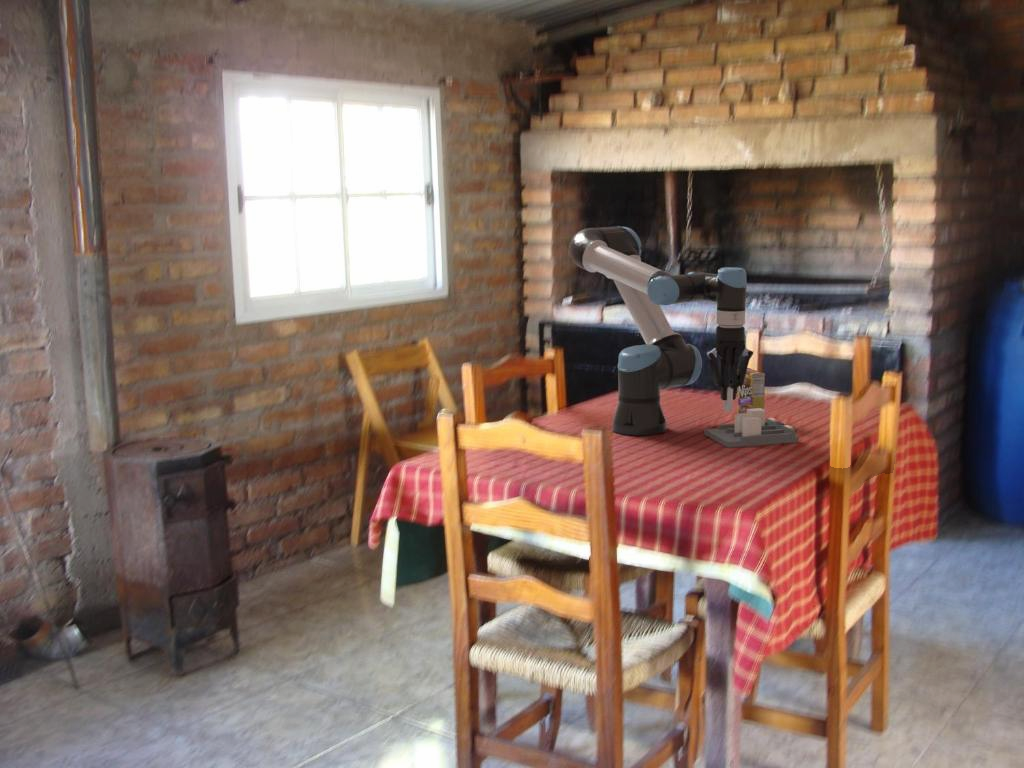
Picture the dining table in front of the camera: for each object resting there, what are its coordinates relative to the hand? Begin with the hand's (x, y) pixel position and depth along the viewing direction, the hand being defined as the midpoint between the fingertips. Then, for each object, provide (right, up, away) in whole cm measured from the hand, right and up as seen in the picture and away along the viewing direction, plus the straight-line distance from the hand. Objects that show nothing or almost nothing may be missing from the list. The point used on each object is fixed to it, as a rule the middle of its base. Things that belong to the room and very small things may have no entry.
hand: (727, 411), depth 299 cm
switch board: (+5, -7, -3) cm, 10 cm away
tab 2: (+8, -4, +2) cm, 9 cm away
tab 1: (+3, -6, -4) cm, 8 cm away
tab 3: (+5, -6, -9) cm, 12 cm away
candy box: (+9, -4, +16) cm, 19 cm away
